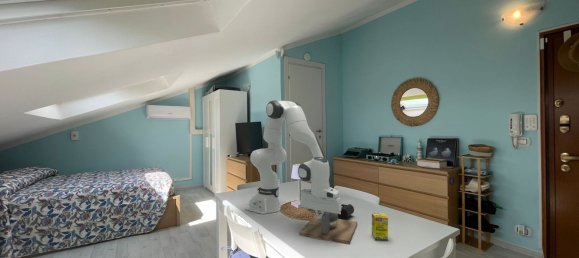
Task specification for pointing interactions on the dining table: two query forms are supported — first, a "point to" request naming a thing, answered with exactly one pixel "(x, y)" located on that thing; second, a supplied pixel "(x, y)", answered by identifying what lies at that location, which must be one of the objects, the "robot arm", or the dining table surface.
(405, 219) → the dining table surface
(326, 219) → the coupling
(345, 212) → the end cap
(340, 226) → the mount plate
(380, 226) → the supplement box
